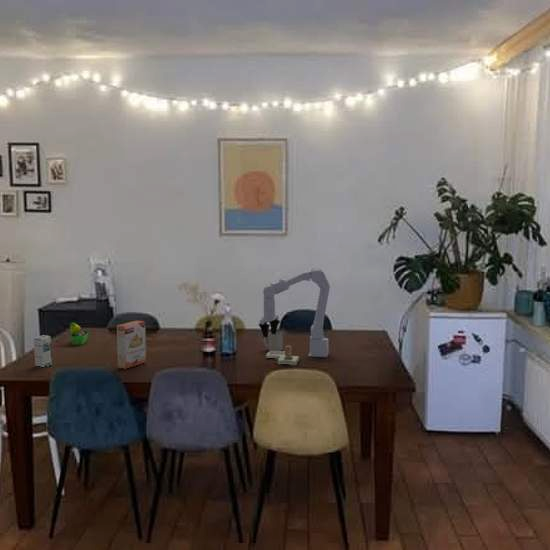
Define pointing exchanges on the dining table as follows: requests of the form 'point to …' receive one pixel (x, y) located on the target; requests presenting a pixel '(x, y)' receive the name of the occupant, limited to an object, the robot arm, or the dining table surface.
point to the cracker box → (131, 344)
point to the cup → (274, 341)
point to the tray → (275, 354)
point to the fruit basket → (78, 334)
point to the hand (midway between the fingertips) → (269, 335)
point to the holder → (285, 361)
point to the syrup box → (43, 350)
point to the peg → (288, 352)
